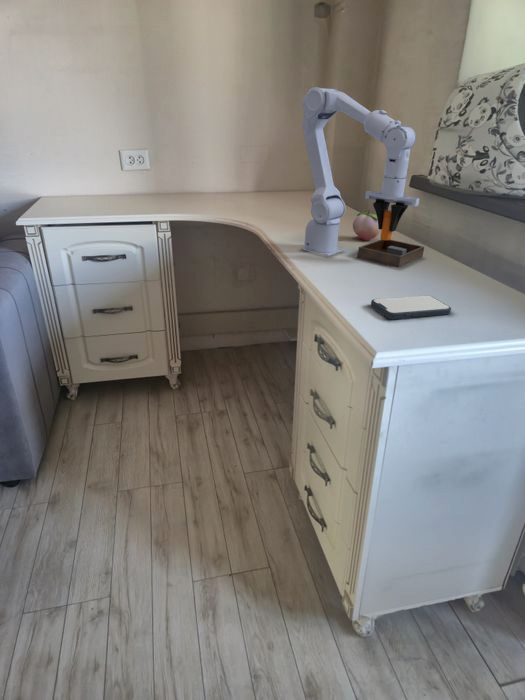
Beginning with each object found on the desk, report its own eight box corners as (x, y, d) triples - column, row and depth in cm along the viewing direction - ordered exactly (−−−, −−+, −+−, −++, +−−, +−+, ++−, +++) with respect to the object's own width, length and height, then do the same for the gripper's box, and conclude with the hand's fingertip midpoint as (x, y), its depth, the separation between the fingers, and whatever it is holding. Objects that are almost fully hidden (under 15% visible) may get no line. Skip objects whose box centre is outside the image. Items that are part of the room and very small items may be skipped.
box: (357, 258, 143) (358, 247, 141) (382, 249, 153) (384, 238, 152) (398, 269, 135) (400, 256, 134) (422, 258, 146) (424, 246, 144)
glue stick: (378, 238, 134) (381, 211, 131) (383, 237, 136) (387, 209, 133) (387, 241, 132) (392, 212, 129) (393, 239, 134) (397, 211, 131)
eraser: (386, 253, 147) (387, 247, 146) (390, 252, 149) (391, 245, 148) (401, 257, 144) (402, 250, 143) (405, 255, 146) (406, 249, 145)
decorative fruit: (384, 241, 162) (389, 211, 157) (371, 246, 156) (375, 214, 152) (360, 236, 167) (364, 206, 163) (346, 240, 162) (350, 209, 157)
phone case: (428, 301, 115) (368, 305, 110) (429, 294, 114) (369, 298, 109) (452, 315, 107) (388, 321, 102) (454, 308, 106) (390, 313, 102)
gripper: (427, 179, 126) (418, 232, 132) (377, 172, 134) (370, 223, 140) (415, 181, 121) (406, 236, 127) (364, 175, 129) (357, 226, 135)
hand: (386, 229), depth 133 cm, fingers closed on glue stick, 3 cm apart
